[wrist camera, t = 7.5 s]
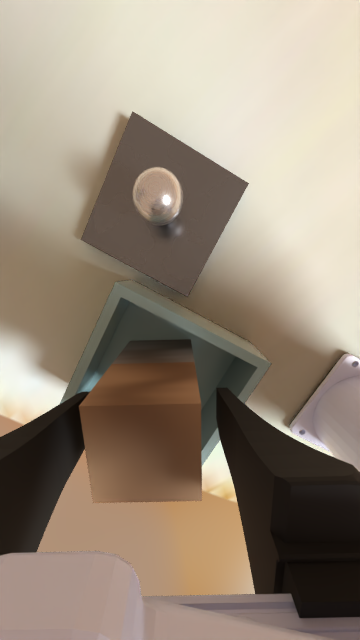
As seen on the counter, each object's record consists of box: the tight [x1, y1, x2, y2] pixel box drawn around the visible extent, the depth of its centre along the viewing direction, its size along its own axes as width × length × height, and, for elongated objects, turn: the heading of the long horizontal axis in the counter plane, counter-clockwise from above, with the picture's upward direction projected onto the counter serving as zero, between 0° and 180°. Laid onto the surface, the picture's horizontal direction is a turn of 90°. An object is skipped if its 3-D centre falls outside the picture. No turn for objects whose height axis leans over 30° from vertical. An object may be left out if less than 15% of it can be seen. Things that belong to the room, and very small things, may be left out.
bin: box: [60, 280, 271, 465], centre depth 15 cm, size 10×10×4 cm
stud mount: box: [81, 111, 249, 297], centre depth 12 cm, size 8×8×5 cm
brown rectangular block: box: [79, 339, 202, 503], centre depth 12 cm, size 5×5×8 cm
